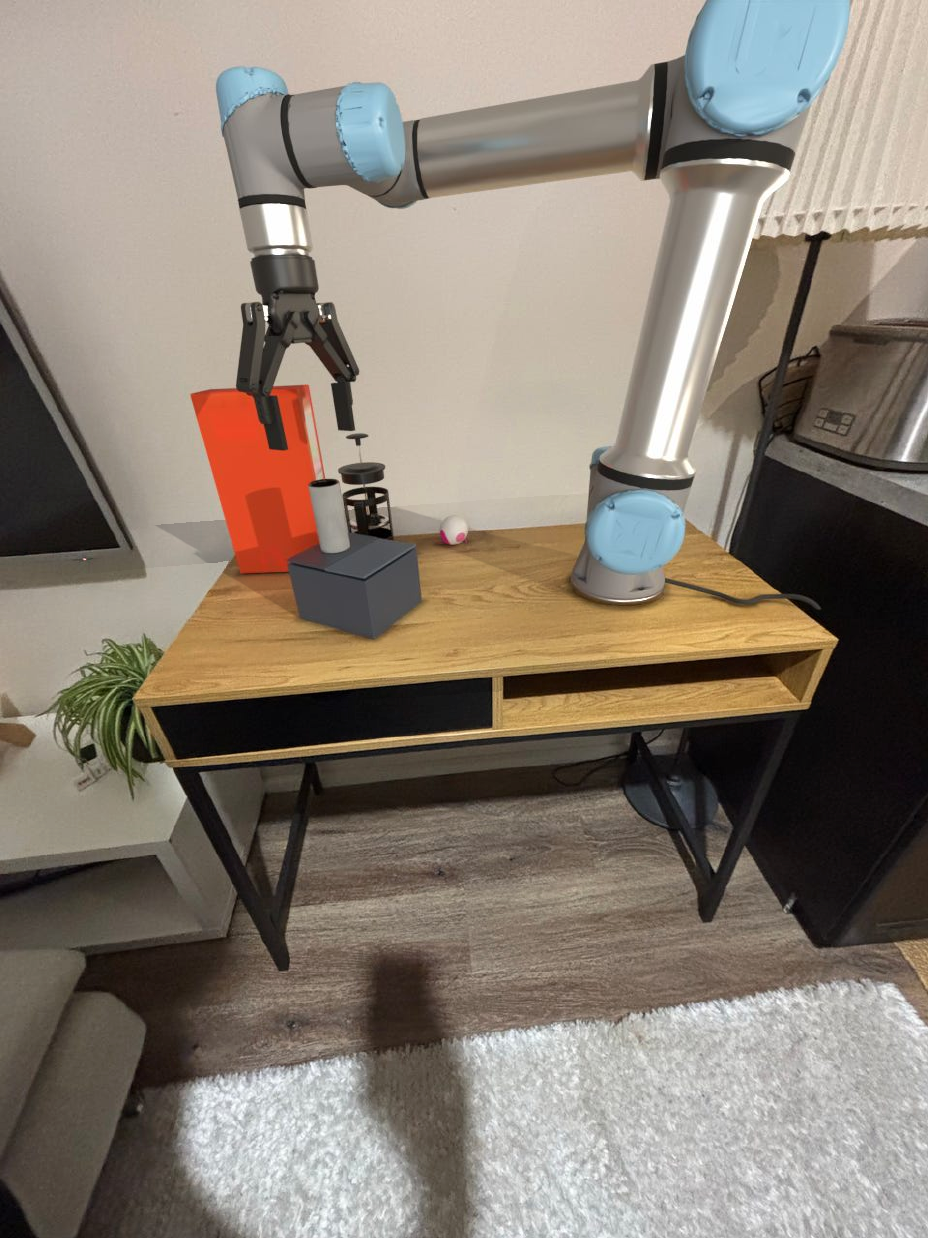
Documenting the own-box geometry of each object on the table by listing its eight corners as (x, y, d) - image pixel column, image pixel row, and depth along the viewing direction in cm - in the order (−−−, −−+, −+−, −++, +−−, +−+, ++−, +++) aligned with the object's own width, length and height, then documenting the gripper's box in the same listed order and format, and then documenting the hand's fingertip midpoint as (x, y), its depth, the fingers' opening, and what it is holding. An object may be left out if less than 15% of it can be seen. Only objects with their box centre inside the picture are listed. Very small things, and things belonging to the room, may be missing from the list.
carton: (421, 601, 86) (416, 543, 81) (374, 639, 76) (364, 576, 71) (352, 585, 92) (342, 531, 87) (299, 618, 83) (285, 559, 78)
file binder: (255, 557, 106) (210, 388, 90) (339, 554, 105) (308, 383, 89) (240, 574, 99) (188, 393, 83) (330, 571, 98) (295, 388, 82)
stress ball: (444, 551, 112) (425, 529, 109) (473, 529, 111) (454, 505, 108) (448, 564, 106) (428, 540, 103) (479, 540, 104) (459, 515, 101)
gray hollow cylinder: (343, 554, 78) (331, 487, 73) (315, 553, 79) (302, 486, 74) (354, 543, 82) (344, 478, 77) (328, 542, 83) (316, 478, 78)
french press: (357, 540, 111) (339, 429, 100) (399, 539, 111) (387, 427, 99) (343, 563, 101) (322, 442, 90) (390, 562, 101) (375, 440, 89)
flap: (415, 546, 81) (415, 543, 81) (364, 579, 71) (363, 576, 71) (378, 540, 84) (378, 537, 84) (324, 570, 74) (324, 568, 74)
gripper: (328, 264, 73) (351, 422, 83) (167, 250, 54) (223, 456, 65) (370, 259, 69) (389, 424, 80) (214, 242, 51) (265, 461, 61)
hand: (315, 439), depth 72 cm, fingers open, 13 cm apart
